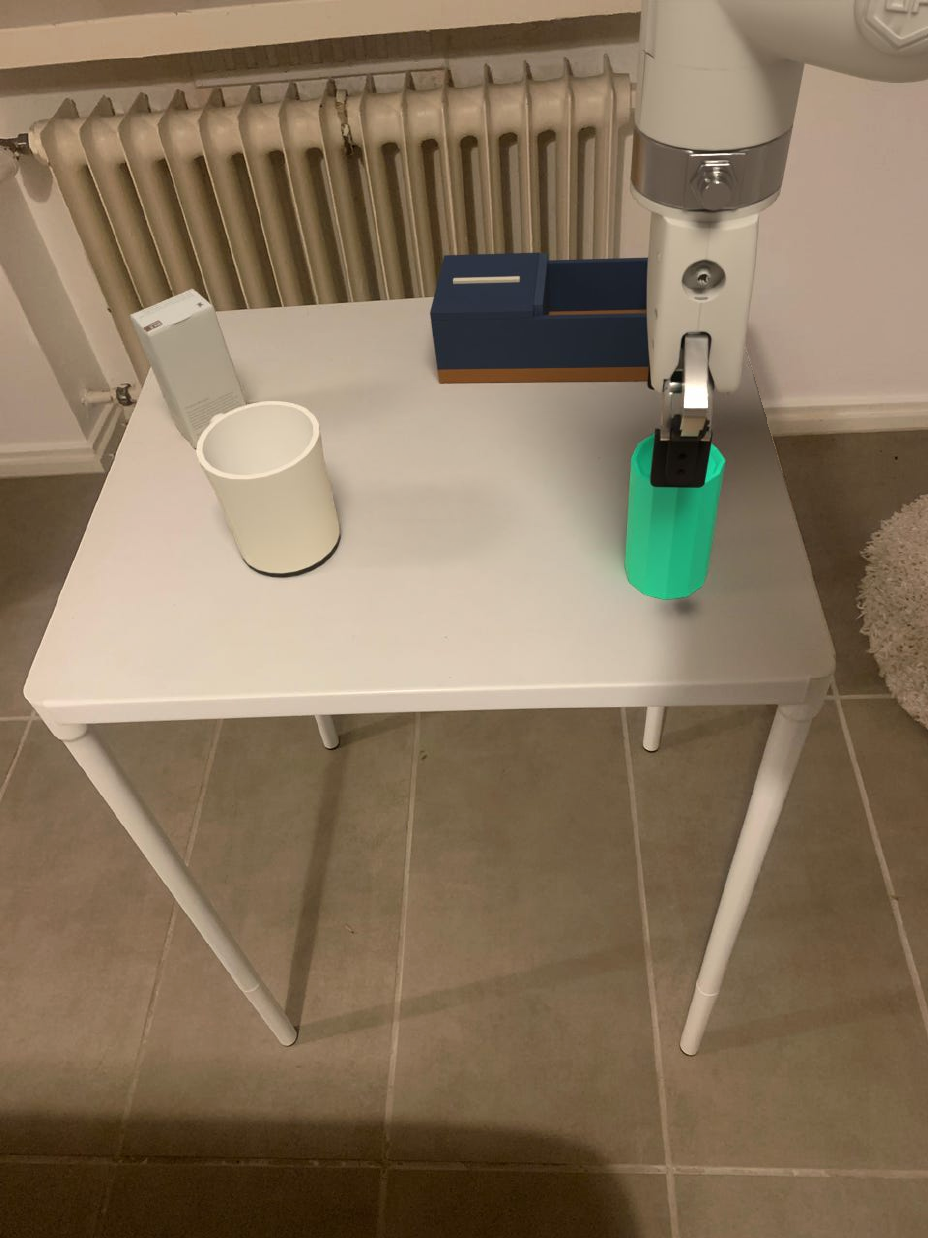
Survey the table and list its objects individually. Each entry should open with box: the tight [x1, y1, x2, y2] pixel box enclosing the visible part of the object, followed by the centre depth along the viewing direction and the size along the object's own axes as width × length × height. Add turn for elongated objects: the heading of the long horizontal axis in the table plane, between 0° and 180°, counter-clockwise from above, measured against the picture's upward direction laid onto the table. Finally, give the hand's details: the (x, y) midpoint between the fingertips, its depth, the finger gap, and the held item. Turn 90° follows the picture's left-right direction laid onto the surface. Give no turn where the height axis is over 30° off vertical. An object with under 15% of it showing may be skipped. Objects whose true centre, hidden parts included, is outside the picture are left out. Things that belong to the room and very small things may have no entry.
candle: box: [624, 432, 726, 601], centre depth 64 cm, size 6×6×12 cm
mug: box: [195, 400, 341, 578], centre depth 70 cm, size 11×9×10 cm
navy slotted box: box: [429, 251, 649, 384], centre depth 85 cm, size 20×10×8 cm, turn 84°
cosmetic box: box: [129, 288, 248, 449], centre depth 80 cm, size 6×4×12 cm
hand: (673, 433), depth 59 cm, fingers open, 9 cm apart
